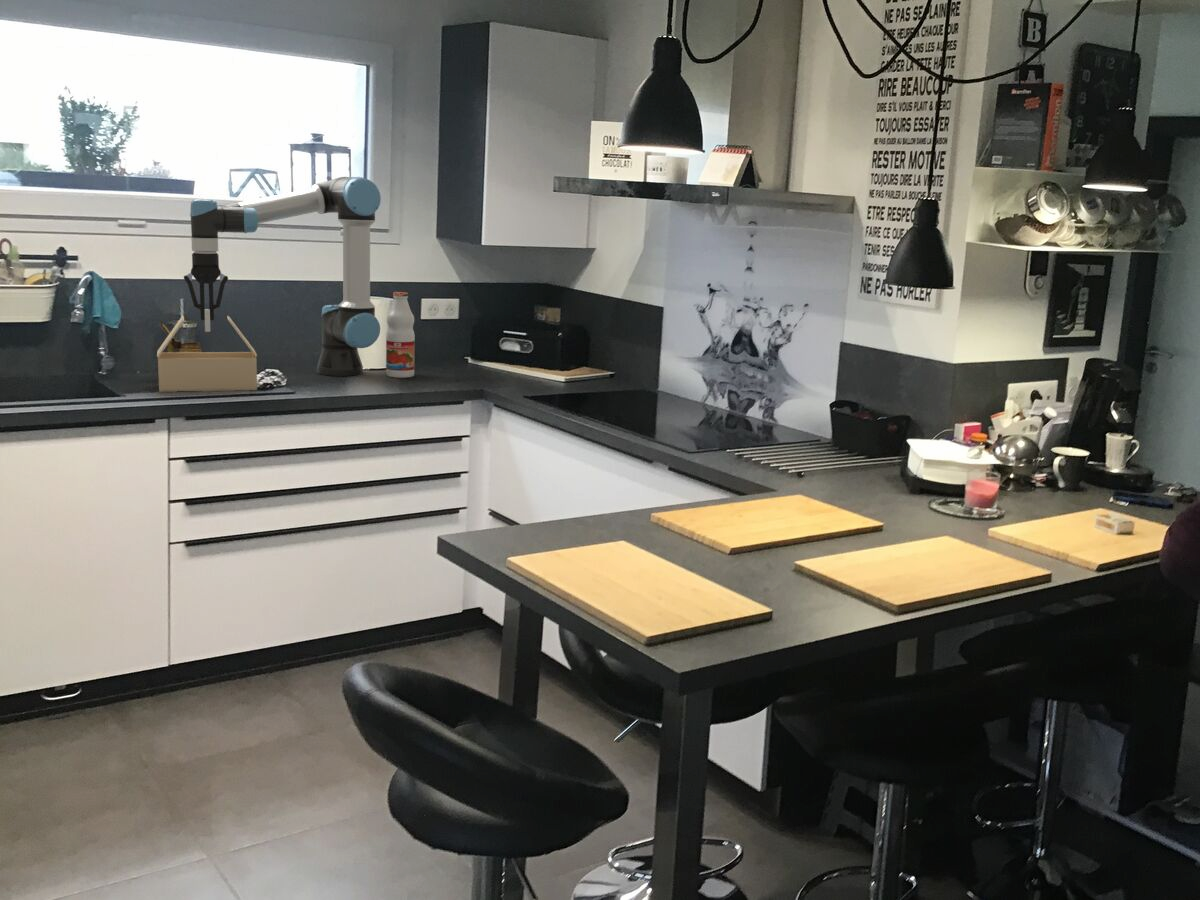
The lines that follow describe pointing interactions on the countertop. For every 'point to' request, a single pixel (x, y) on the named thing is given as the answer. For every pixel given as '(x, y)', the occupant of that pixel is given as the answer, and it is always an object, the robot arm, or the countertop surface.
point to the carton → (207, 371)
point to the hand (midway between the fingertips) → (207, 331)
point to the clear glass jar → (177, 344)
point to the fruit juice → (400, 338)
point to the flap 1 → (170, 336)
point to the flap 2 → (241, 335)
